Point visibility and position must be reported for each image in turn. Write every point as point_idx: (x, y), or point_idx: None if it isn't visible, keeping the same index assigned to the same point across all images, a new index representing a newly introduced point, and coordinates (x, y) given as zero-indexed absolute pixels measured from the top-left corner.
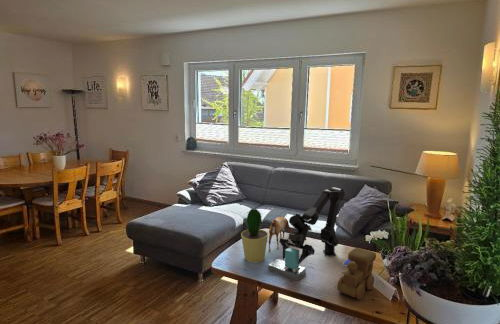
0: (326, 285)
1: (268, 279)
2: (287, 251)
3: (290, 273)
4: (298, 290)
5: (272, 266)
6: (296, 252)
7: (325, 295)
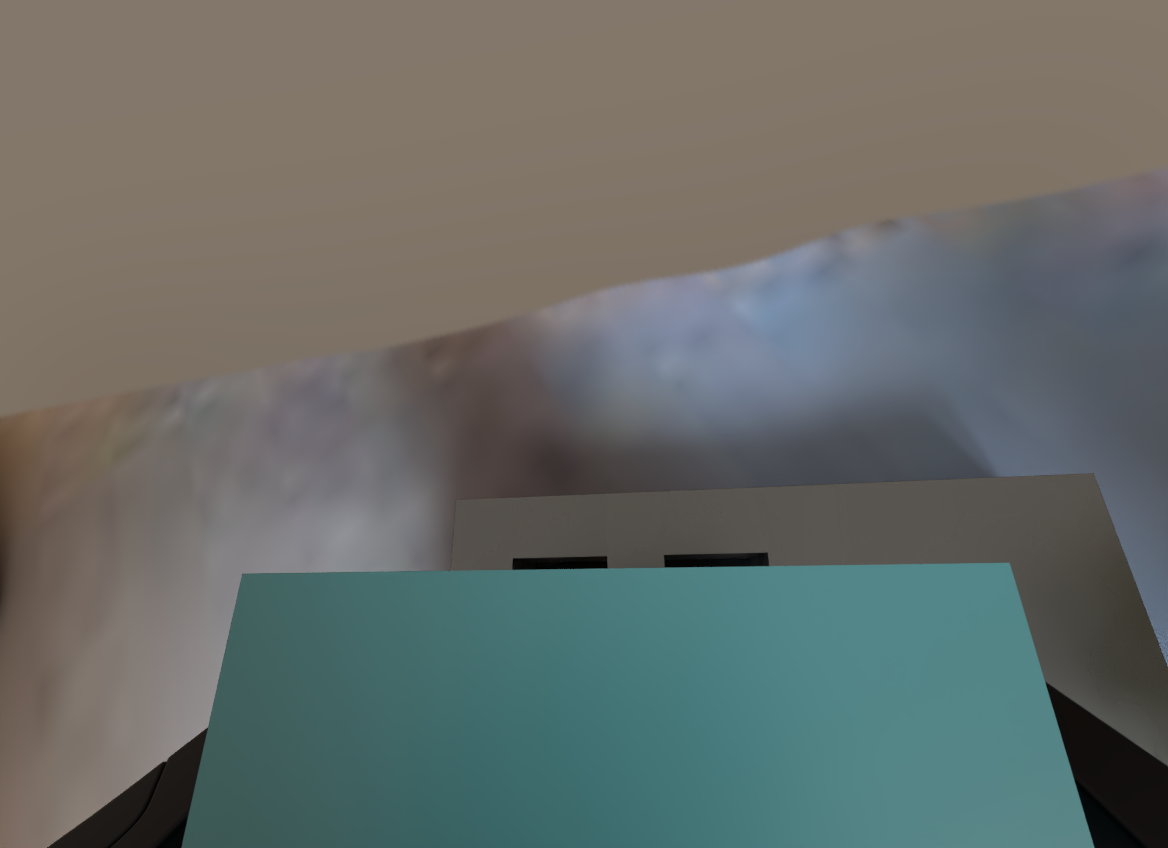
0: (140, 652)
1: (796, 310)
2: (779, 567)
3: (577, 498)
4: (392, 355)
5: (975, 479)
6: (220, 731)
7: (134, 453)
